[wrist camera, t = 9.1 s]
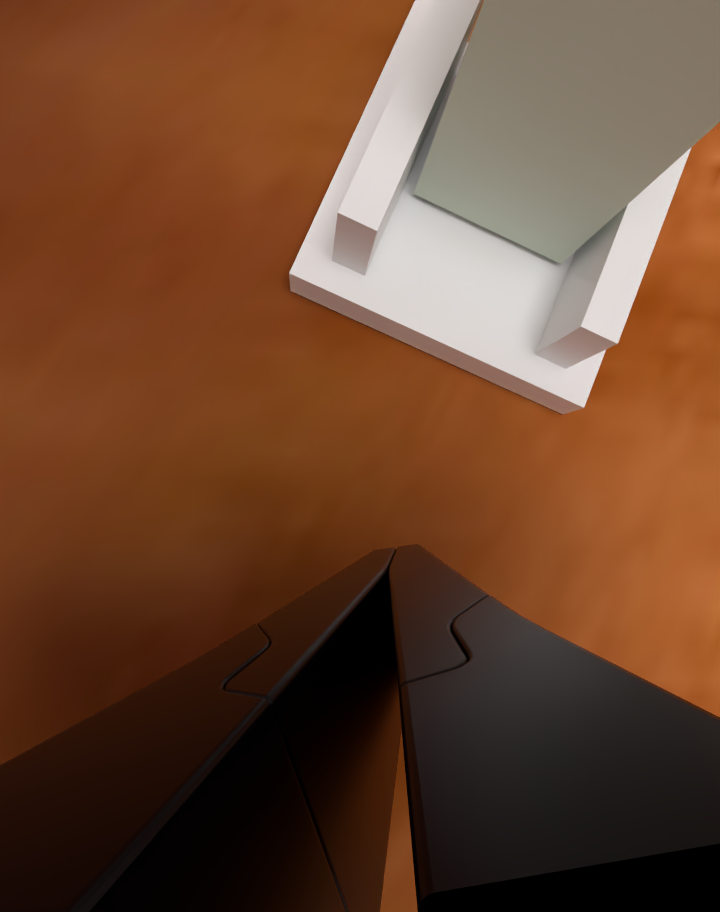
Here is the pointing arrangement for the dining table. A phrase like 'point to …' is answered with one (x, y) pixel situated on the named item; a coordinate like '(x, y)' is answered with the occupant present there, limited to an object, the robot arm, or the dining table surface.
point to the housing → (465, 243)
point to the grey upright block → (571, 113)
